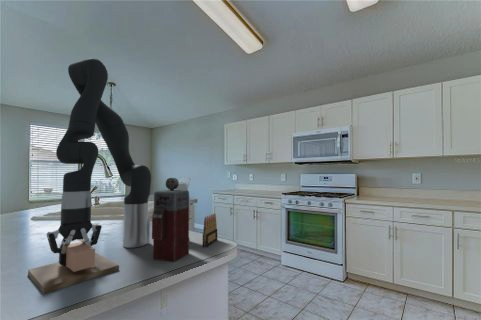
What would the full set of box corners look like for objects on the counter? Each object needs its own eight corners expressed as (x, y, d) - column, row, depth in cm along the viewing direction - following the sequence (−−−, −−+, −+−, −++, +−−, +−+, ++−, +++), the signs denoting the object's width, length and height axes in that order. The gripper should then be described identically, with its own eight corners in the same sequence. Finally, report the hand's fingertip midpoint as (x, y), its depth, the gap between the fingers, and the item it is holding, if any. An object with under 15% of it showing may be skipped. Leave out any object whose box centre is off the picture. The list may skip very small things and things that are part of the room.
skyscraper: (184, 238, 106) (184, 177, 108) (194, 242, 100) (194, 177, 102) (167, 242, 100) (168, 177, 102) (176, 246, 94) (177, 178, 96)
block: (74, 253, 63) (59, 244, 72) (73, 271, 63) (58, 260, 71) (94, 248, 67) (78, 240, 76) (94, 266, 67) (77, 255, 75)
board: (95, 257, 82) (95, 252, 82) (118, 269, 71) (119, 264, 71) (28, 274, 68) (28, 269, 68) (43, 294, 57) (43, 287, 57)
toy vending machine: (148, 261, 78) (149, 178, 80) (168, 250, 88) (169, 177, 90) (170, 264, 75) (171, 178, 77) (189, 253, 85) (189, 177, 87)
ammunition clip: (213, 239, 103) (213, 212, 103) (217, 240, 102) (217, 212, 103) (202, 247, 93) (202, 216, 93) (206, 247, 92) (206, 217, 93)
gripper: (97, 202, 79) (96, 253, 78) (43, 207, 67) (40, 267, 66) (106, 204, 74) (105, 258, 73) (50, 210, 63) (47, 274, 62)
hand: (74, 262), depth 70 cm, fingers closed on block, 5 cm apart
